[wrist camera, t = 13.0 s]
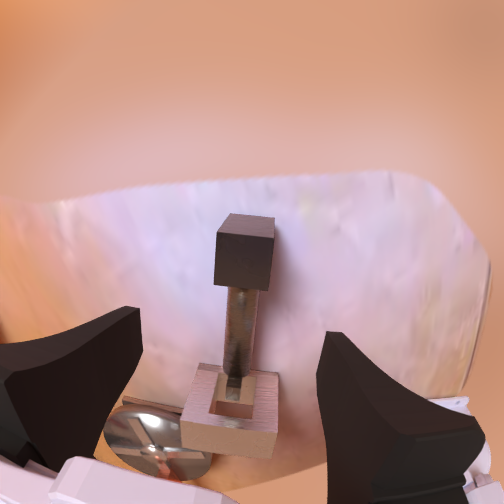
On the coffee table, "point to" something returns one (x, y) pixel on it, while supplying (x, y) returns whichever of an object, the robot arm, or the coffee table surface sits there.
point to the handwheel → (153, 443)
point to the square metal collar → (225, 427)
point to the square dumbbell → (242, 288)
